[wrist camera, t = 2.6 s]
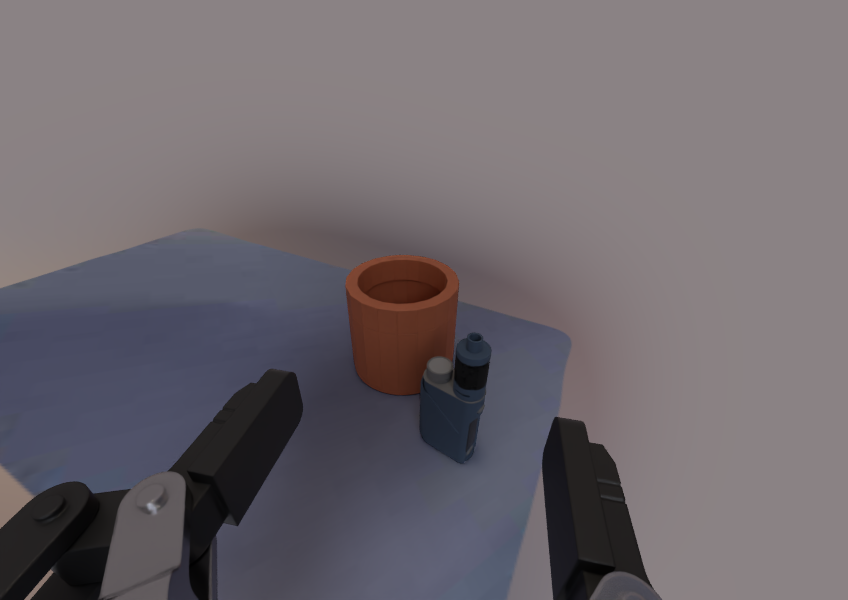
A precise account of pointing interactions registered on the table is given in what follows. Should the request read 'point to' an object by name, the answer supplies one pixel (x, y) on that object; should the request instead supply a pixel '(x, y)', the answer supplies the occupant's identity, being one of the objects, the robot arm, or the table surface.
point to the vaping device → (455, 398)
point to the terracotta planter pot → (400, 319)
